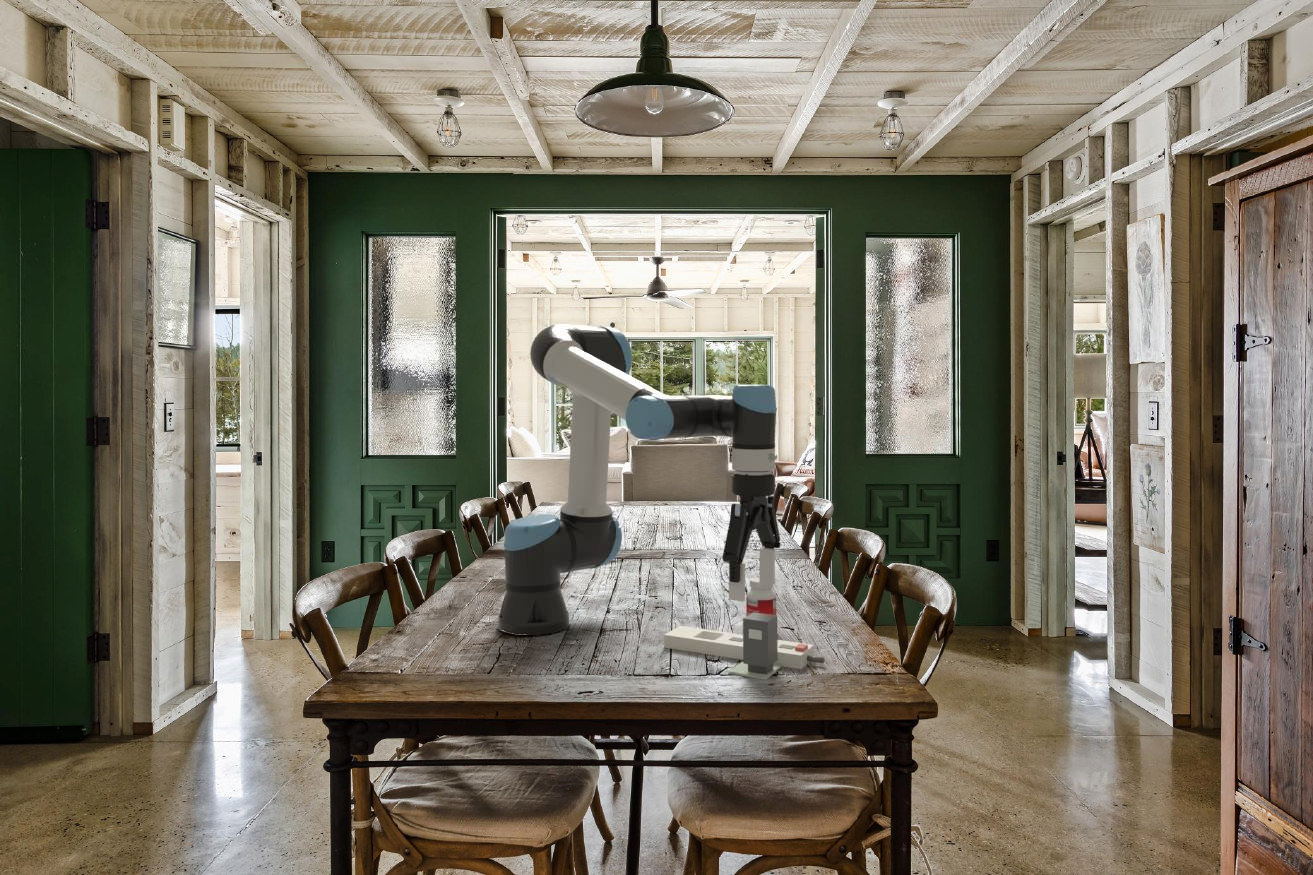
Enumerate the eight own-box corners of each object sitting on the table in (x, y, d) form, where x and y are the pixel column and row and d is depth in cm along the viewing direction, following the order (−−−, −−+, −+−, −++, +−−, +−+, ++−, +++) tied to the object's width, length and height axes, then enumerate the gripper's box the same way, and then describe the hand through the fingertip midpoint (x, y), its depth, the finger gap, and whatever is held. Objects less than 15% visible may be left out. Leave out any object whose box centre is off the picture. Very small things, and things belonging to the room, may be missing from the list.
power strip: (664, 647, 160) (663, 631, 160) (680, 637, 166) (680, 622, 166) (817, 671, 144) (817, 654, 144) (829, 660, 151) (829, 643, 150)
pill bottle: (742, 635, 168) (742, 581, 167) (751, 627, 173) (751, 575, 173) (771, 638, 165) (771, 584, 164) (780, 630, 171) (779, 577, 170)
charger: (743, 672, 144) (742, 618, 143) (753, 664, 148) (753, 612, 147) (767, 676, 141) (767, 621, 141) (777, 668, 146) (777, 615, 145)
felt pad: (728, 673, 144) (728, 671, 144) (744, 662, 150) (744, 659, 150) (765, 679, 141) (765, 677, 141) (780, 667, 147) (780, 665, 147)
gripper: (744, 480, 131) (743, 611, 133) (798, 467, 153) (797, 579, 154) (702, 478, 135) (702, 604, 136) (761, 465, 156) (759, 574, 158)
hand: (752, 591), depth 145 cm, fingers open, 13 cm apart
